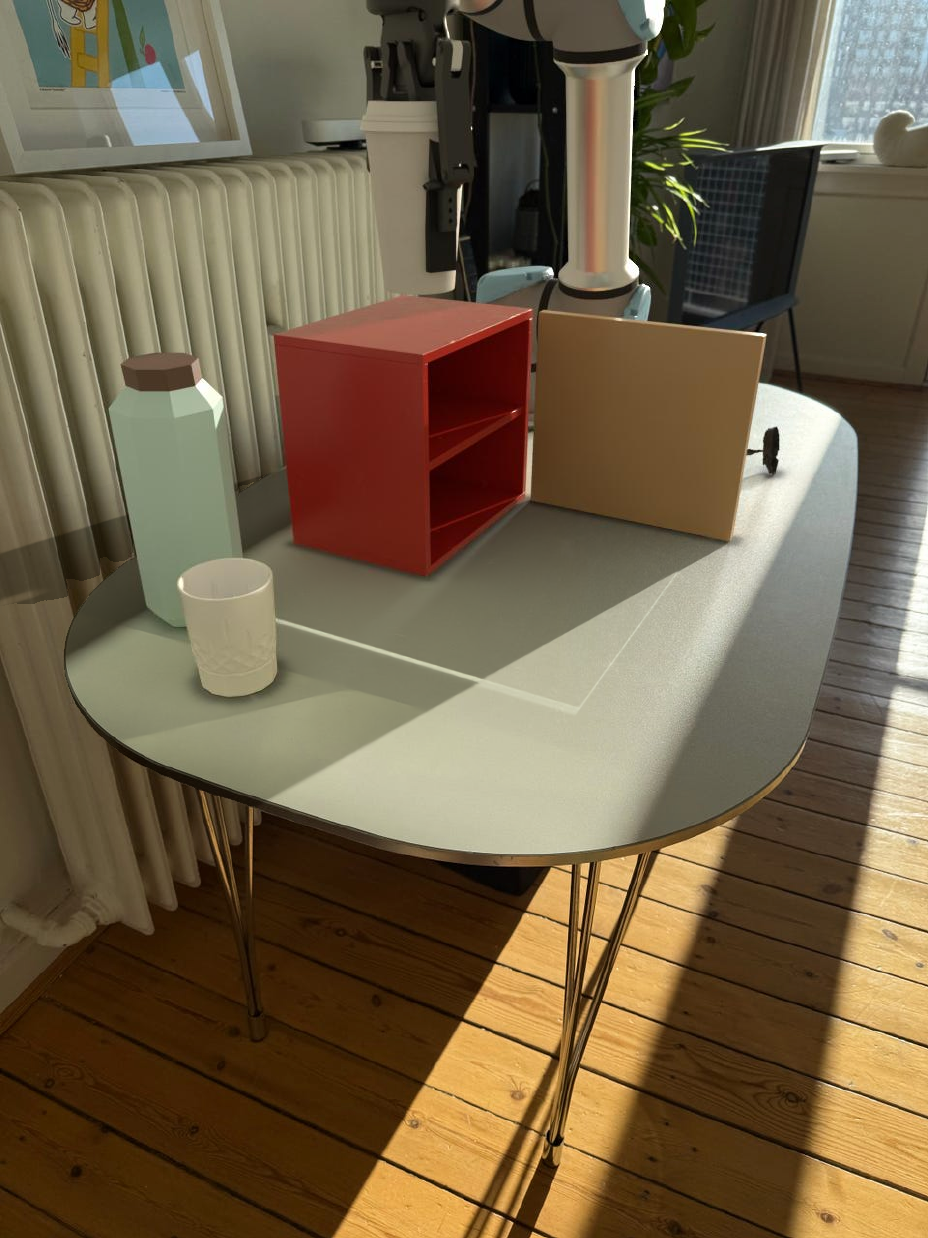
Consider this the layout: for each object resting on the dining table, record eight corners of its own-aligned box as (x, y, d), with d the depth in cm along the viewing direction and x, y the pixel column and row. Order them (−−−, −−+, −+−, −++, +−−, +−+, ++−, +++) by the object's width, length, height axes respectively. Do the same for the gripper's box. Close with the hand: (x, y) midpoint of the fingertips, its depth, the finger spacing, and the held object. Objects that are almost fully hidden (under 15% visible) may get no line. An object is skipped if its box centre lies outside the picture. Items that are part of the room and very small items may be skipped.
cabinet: (525, 498, 118) (533, 308, 106) (426, 577, 98) (422, 354, 86) (408, 474, 125) (403, 294, 113) (293, 544, 105) (273, 334, 93)
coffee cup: (460, 300, 78) (459, 101, 71) (354, 296, 80) (343, 101, 72) (479, 280, 86) (481, 99, 79) (383, 276, 88) (375, 99, 80)
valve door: (556, 480, 124) (566, 299, 112) (746, 516, 113) (780, 321, 101) (530, 500, 117) (538, 311, 105) (729, 541, 106) (763, 336, 94)
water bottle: (143, 595, 94) (96, 353, 82) (238, 578, 98) (207, 343, 85) (154, 640, 86) (104, 380, 74) (258, 620, 90) (227, 368, 77)
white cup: (176, 677, 81) (158, 578, 76) (249, 644, 86) (237, 549, 81) (227, 713, 76) (211, 609, 71) (301, 675, 81) (291, 576, 76)
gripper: (525, -58, 65) (516, 277, 77) (392, -31, 79) (402, 247, 91) (436, -66, 62) (441, 286, 73) (314, -36, 76) (334, 253, 88)
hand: (419, 264), depth 82 cm, fingers closed on coffee cup, 7 cm apart
